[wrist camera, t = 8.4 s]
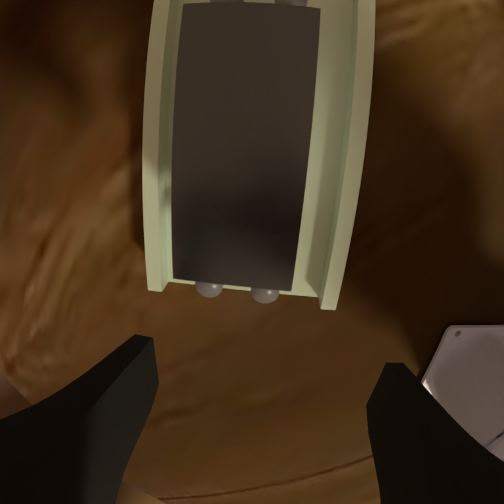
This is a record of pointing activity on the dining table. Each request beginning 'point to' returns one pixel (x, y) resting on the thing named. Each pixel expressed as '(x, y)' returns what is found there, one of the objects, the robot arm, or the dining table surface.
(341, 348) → the dining table surface
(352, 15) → the tray
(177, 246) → the block
